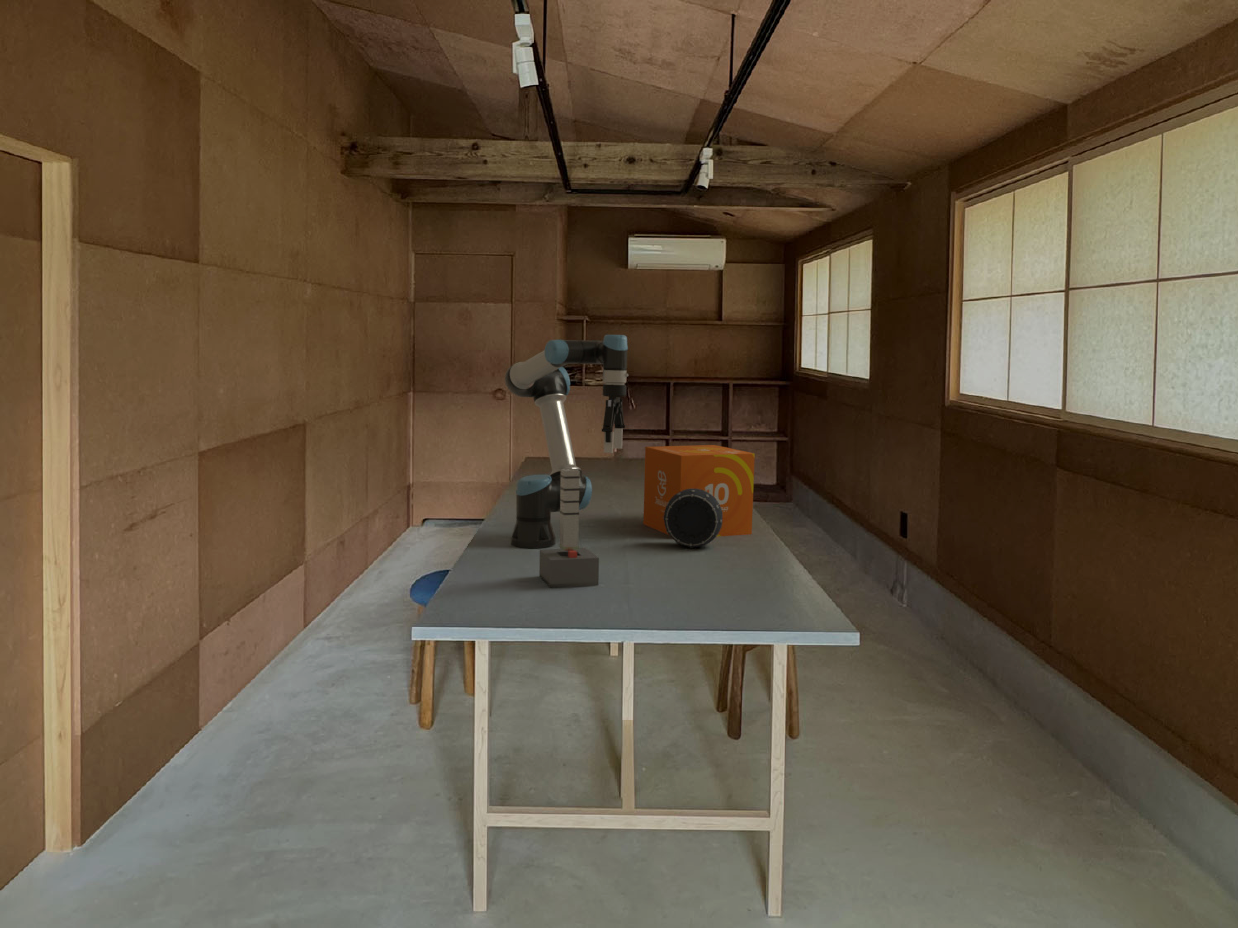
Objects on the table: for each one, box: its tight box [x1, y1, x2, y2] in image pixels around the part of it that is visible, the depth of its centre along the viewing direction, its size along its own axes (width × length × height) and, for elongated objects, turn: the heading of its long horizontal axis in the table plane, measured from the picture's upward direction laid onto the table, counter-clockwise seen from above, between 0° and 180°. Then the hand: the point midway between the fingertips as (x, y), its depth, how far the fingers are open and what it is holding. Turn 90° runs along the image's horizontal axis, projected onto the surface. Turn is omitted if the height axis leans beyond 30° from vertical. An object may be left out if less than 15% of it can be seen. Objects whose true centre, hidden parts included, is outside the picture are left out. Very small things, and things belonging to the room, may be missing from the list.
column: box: [558, 469, 580, 551], centre depth 279 cm, size 5×5×23 cm
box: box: [642, 444, 756, 538], centre depth 363 cm, size 30×30×30 cm
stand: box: [538, 547, 600, 589], centre depth 281 cm, size 14×14×10 cm
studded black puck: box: [663, 489, 723, 549], centre depth 332 cm, size 11×20×20 cm, turn 78°
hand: (613, 450), depth 309 cm, fingers open, 13 cm apart
